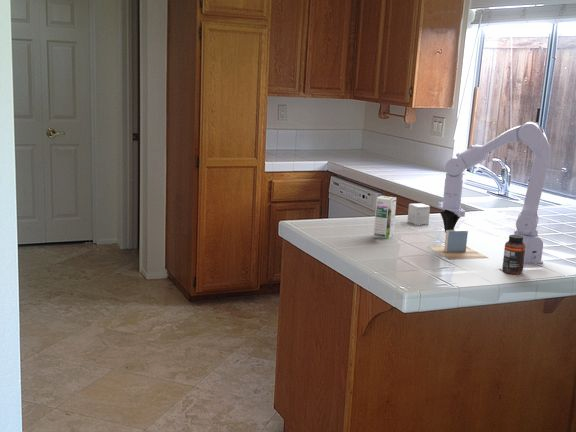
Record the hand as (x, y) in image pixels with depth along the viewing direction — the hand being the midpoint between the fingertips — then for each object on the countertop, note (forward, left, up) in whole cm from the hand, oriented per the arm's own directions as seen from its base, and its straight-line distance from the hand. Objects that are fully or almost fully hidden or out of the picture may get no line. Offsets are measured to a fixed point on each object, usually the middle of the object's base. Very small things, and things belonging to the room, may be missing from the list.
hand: (448, 233), depth 224 cm
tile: (-5, 0, -5) cm, 7 cm away
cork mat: (-7, 0, -5) cm, 9 cm away
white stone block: (+36, -7, -6) cm, 37 cm away
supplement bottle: (-27, -7, -6) cm, 29 cm away
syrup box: (+17, +16, -6) cm, 24 cm away
